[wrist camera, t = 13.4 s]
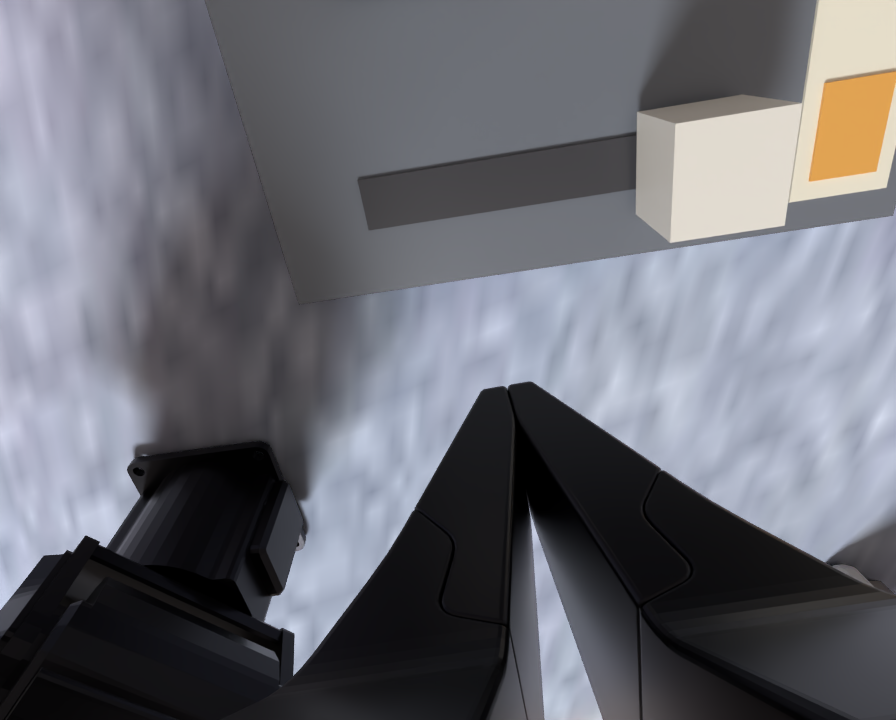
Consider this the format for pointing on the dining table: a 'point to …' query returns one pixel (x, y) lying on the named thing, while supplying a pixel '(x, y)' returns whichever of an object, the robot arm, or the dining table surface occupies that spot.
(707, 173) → the beige cube
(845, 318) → the dining table surface
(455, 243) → the switch panel
